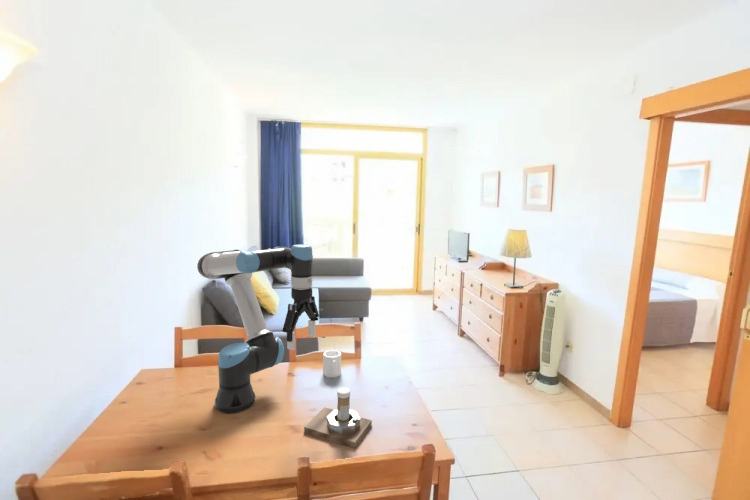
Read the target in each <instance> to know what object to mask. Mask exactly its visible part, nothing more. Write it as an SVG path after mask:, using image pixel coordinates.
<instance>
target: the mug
mask: <svg viewBox="0 0 750 500" xmlns="http://www.w3.org/2000/svg"><path fill="white" fill-rule="evenodd" d="M341 373H342V352H341V351H338V350H336V349H335V350H334V349H333V350H331V349H330V350H325V351H324V352H323V354H322V375H323V376H325V377H326V378H332V379H333V378H337V377H340V375H341Z"/></svg>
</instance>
